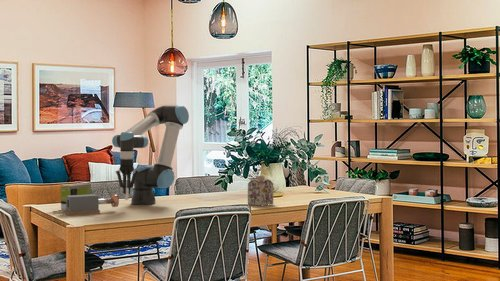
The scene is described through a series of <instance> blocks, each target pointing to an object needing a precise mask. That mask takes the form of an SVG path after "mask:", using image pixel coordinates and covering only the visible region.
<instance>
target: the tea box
mask: <svg viewBox="0 0 500 281" xmlns="http://www.w3.org/2000/svg"><path fill="white" fill-rule="evenodd" d="M88 194H92V184H91V183H83V182H82V183H81V182H78V183H69V184H61V185H60V209H61V211H64V210H66V196H70V195H88Z"/></svg>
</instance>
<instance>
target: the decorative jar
mask: <svg viewBox="0 0 500 281" xmlns="http://www.w3.org/2000/svg"><path fill="white" fill-rule="evenodd" d="M248 204H254V205H267V206H269V205H268V204H273V205H274V183H273V182H272V180H271V179H269V178H265V175H257V176H256V178H251V179H250V180H249V181H248V183H247V205H248ZM254 205H253V206H254Z"/></svg>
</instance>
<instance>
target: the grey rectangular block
mask: <svg viewBox="0 0 500 281" xmlns="http://www.w3.org/2000/svg"><path fill="white" fill-rule="evenodd" d="M119 202H120V200H119V196H118V194H111V197H110V198H99V205H107V204H108V205H110V204H111V205H110V206H111V207H112V208H116V207H118V206H119V204H120V203H119Z"/></svg>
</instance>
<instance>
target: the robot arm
mask: <svg viewBox="0 0 500 281" xmlns="http://www.w3.org/2000/svg"><path fill="white" fill-rule="evenodd" d="M189 120H190V115H189V111H188V108H187V107H186V106H184V105H181V104H175V105H173V104H172V105H161V106H159V107H157V108H155V109H153V110H152V111H149V113H147V114H146V117H144V118H142V120H140V121H138V122H137V123H135V124H134V125H133V126H132V127H130V128H128V129H127V130H125V131H122V132H120V134H115V135H114V136H112V139H111V141H112V143H111V144H112V145H113V147H115V148H118V149H119V148H120V149H119V150H120V151H119V158H120V160H119V164H120V165H119V169H118V170H115V174H116V176H117V180H118V183H119V187H120V188H121V189H122V194H124V200H126V201H127V200H129V199H130V198H129V194H131V188H133V194H132V196H131V200H130V201H131V202H130V204H131V205H135V206H136V205H138V206H140V205H141V206H143V205H144V206H145V205H146V206H147V205H155V204H156V203H157V202H156V200H157V199H156V197H155V194H154V188H156V189H167V188H170V187H171V186H172V185H173V183H174V181H175V177H176V176H175V172H174V171H173V167H172V163H173V158H174V154H175V150H176V146H177V141H178V137H179V134H180V130H182V129H183V127H184V125H185V124H187V123H188V122H189ZM162 124H164V126H165V131H164V135H163V138H162V143H161V147H160V151H159V155H158V159H157V162H156V163H154V164H153V165H150V166H149V165H148V166H139V167H134V159H133V158H134V149H145V148H146V147H147V146H148V145H149V138H148V137H147V135H143V134H145V133H147V132H148V131H149V130H151V129H152V128H154V127H157V126H159V125H162Z"/></svg>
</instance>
